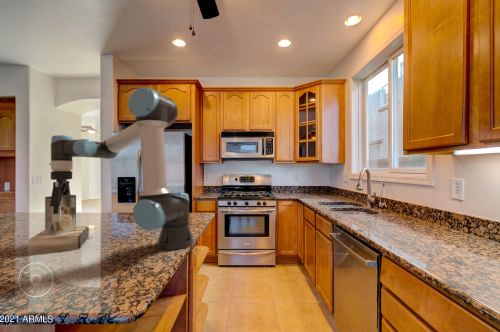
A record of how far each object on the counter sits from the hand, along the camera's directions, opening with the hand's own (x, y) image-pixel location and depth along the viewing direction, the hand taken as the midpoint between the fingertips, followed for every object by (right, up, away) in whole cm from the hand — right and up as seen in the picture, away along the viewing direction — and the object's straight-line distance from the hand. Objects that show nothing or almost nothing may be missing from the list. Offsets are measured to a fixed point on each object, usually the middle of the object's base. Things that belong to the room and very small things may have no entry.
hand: (61, 218), depth 104 cm
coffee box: (0, -6, 0) cm, 6 cm away
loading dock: (0, -12, 0) cm, 12 cm away
